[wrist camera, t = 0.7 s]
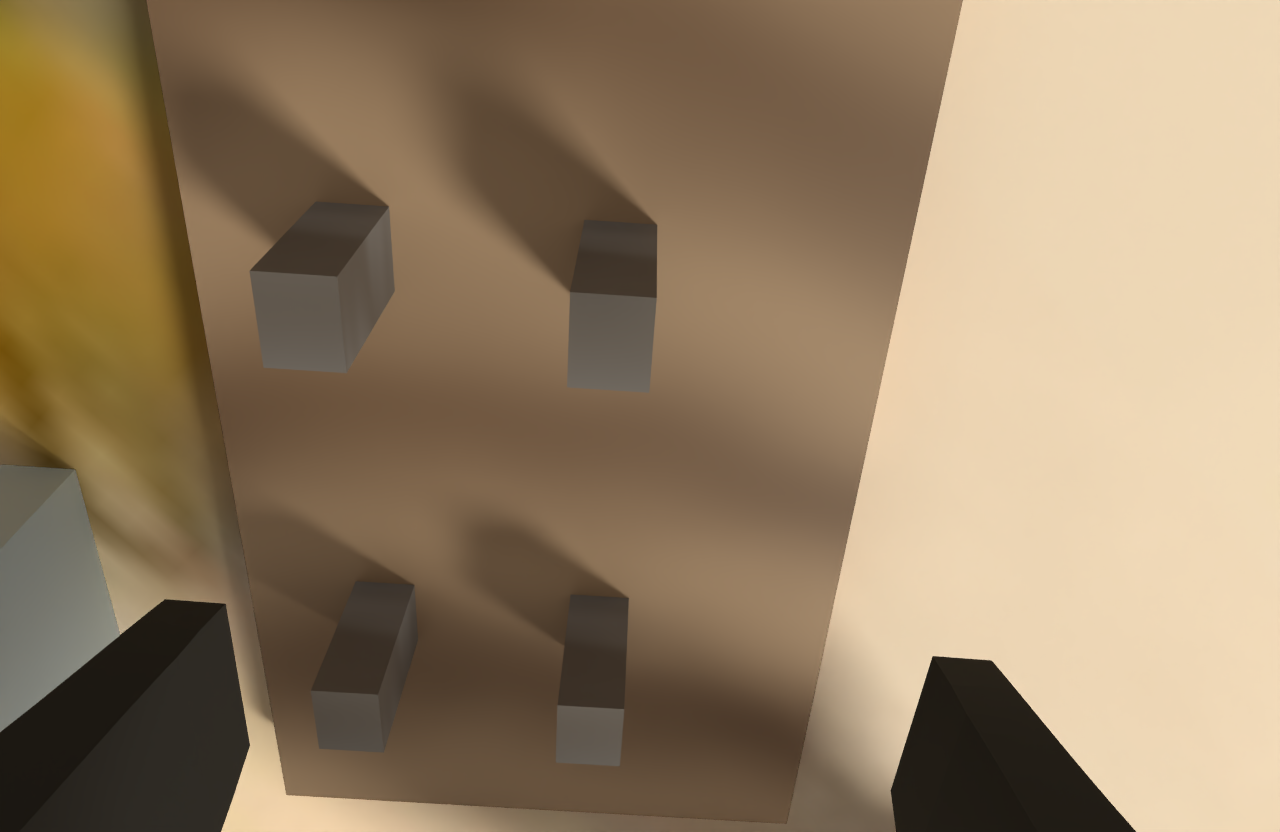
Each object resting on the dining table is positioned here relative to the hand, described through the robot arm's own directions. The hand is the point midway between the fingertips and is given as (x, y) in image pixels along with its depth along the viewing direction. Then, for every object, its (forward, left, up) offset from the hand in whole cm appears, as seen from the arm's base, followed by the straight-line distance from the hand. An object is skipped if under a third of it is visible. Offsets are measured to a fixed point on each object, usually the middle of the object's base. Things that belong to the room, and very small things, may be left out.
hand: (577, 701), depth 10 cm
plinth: (-2, +1, -10) cm, 10 cm away
